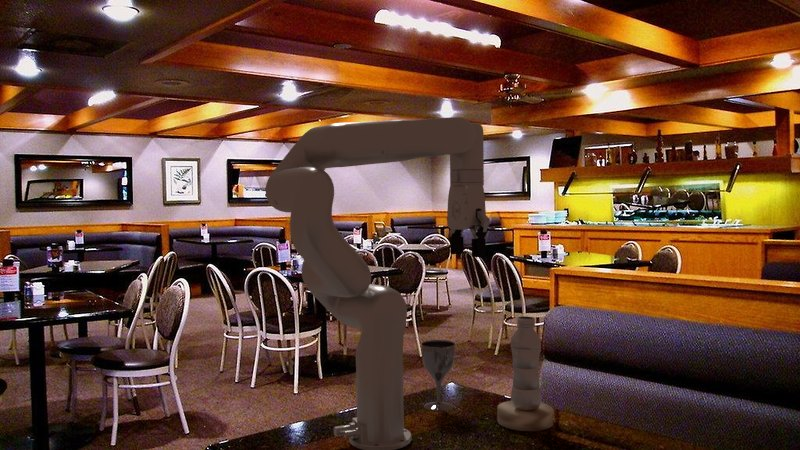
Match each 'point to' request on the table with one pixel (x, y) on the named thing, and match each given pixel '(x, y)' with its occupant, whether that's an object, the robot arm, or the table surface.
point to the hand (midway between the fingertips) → (467, 255)
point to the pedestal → (525, 417)
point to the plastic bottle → (526, 365)
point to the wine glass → (438, 367)
